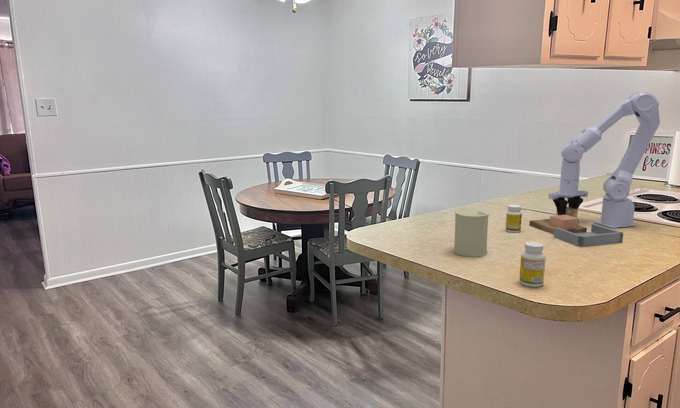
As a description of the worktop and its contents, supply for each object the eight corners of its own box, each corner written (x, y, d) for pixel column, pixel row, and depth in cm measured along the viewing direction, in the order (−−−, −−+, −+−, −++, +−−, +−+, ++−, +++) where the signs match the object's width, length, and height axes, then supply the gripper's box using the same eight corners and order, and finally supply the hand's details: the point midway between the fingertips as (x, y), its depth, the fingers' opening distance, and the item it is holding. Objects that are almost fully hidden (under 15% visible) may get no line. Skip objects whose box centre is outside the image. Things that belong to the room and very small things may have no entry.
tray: (593, 232, 158) (594, 223, 157) (622, 242, 147) (623, 232, 146) (553, 236, 154) (554, 227, 153) (580, 247, 143) (581, 237, 142)
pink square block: (565, 223, 163) (565, 214, 163) (578, 227, 158) (578, 218, 157) (549, 224, 162) (550, 216, 161) (562, 229, 156) (563, 220, 156)
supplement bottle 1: (521, 233, 159) (523, 207, 157) (506, 232, 160) (507, 207, 158) (519, 229, 163) (521, 204, 162) (504, 228, 164) (506, 204, 163)
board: (556, 222, 171) (556, 218, 171) (586, 232, 158) (586, 227, 158) (529, 225, 168) (529, 220, 168) (557, 235, 155) (557, 230, 155)
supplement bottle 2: (539, 289, 112) (542, 248, 110) (515, 284, 115) (518, 244, 113) (546, 282, 116) (549, 243, 114) (524, 277, 119) (526, 239, 117)
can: (481, 259, 134) (483, 216, 131) (448, 253, 138) (450, 212, 136) (491, 250, 141) (493, 209, 139) (459, 245, 146) (461, 206, 144)
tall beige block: (564, 219, 175) (565, 206, 174) (576, 223, 169) (577, 209, 168) (555, 220, 174) (556, 206, 173) (567, 224, 168) (569, 210, 167)
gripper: (578, 176, 174) (575, 214, 177) (543, 179, 170) (540, 217, 173) (593, 179, 167) (590, 218, 170) (557, 182, 164) (554, 221, 166)
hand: (566, 218), depth 171 cm, fingers closed on tall beige block, 4 cm apart
